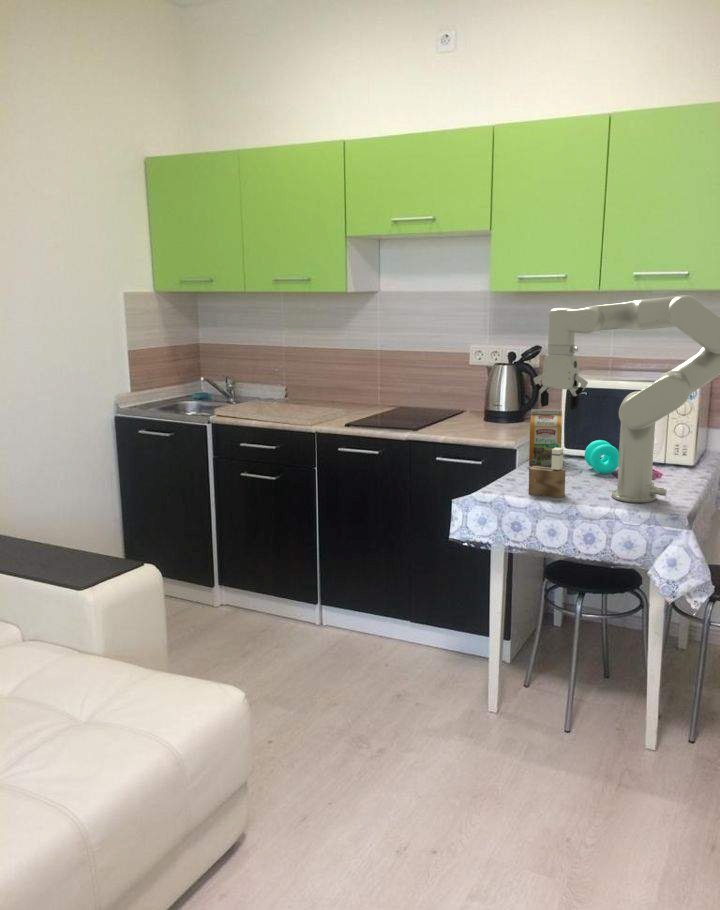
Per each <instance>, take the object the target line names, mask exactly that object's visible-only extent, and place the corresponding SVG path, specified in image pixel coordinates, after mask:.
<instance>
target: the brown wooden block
mask: <svg viewBox="0 0 720 910" xmlns="http://www.w3.org/2000/svg"><path fill="white" fill-rule="evenodd" d="M533 494H537V495H536V496H541V495H544V496H543V497H549V496H550V498H559V499H561V498H563V497H564V496H565V495H566V468H561V469H560V470H556V469H551V467H550V466H530V468H528V495H533Z"/></svg>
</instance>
